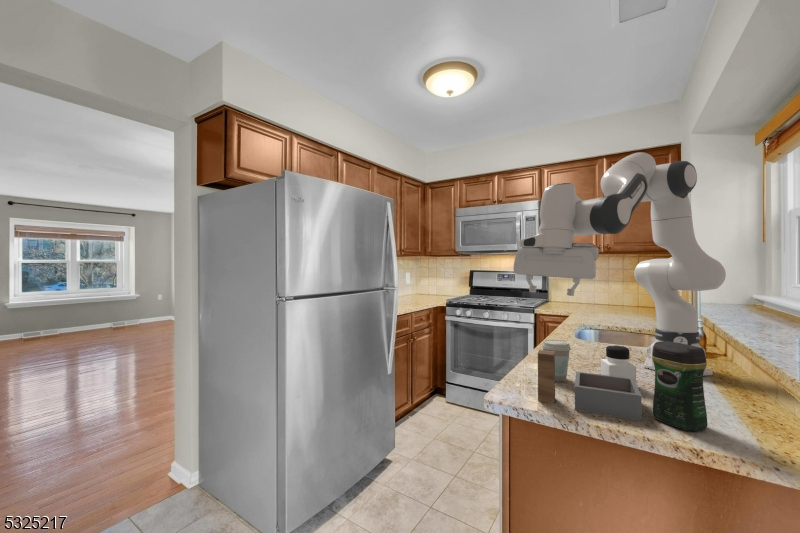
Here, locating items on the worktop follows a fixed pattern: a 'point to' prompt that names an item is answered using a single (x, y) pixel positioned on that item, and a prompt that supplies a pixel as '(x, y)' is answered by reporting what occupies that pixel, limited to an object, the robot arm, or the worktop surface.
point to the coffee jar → (679, 385)
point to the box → (608, 395)
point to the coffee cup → (559, 357)
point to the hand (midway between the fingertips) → (551, 293)
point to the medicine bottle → (617, 362)
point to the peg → (546, 376)
